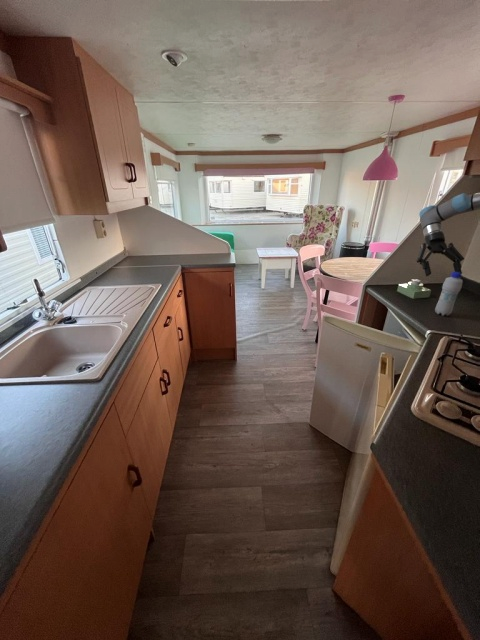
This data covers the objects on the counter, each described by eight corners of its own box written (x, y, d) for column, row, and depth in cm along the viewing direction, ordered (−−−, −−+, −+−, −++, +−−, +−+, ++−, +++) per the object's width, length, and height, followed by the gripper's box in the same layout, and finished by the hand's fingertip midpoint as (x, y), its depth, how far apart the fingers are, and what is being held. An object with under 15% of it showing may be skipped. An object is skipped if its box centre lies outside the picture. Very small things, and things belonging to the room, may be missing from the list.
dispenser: (429, 297, 142) (432, 286, 139) (412, 298, 140) (416, 288, 137) (412, 289, 152) (415, 279, 150) (396, 291, 151) (399, 281, 148)
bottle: (433, 309, 127) (446, 269, 118) (450, 312, 124) (465, 271, 115) (433, 315, 122) (448, 273, 113) (451, 318, 119) (467, 275, 110)
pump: (421, 285, 142) (422, 281, 141) (414, 285, 142) (416, 281, 141) (415, 283, 146) (416, 278, 145) (409, 283, 145) (410, 279, 144)
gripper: (454, 240, 132) (465, 278, 125) (403, 240, 133) (411, 278, 126) (466, 230, 125) (478, 270, 118) (412, 231, 126) (420, 271, 119)
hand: (443, 274), depth 122 cm, fingers open, 13 cm apart
